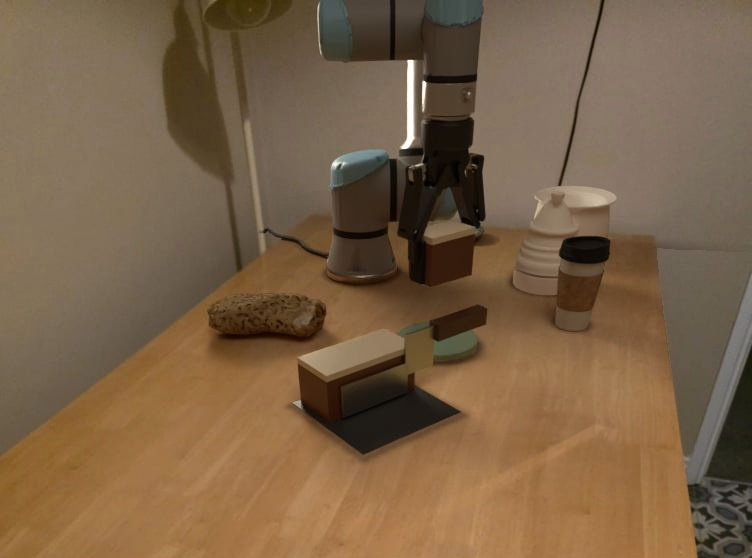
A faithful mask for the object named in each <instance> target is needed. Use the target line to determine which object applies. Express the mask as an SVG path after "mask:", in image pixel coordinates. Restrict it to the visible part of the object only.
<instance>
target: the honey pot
mask: <svg viewBox="0 0 752 558" xmlns="http://www.w3.org/2000/svg"><path fill="white" fill-rule="evenodd" d="M564 197H565V192H562V191H553V192H551V198H552V199H550V200H549V201H548V202H546V203H545V205H544V206H543V207H542V208H541V210H540V211H539V213H538V214H537V216H536V217H535V216H534V217H535V219H534V218H533V219H532V220H530V221H529V222H528V223H527V228H528V231H527V233H526V235H525V236H524V238H523V239H522V244H520V247H519V251H518V252H517V254H516V256H515V260H514V261H515V262H514V266H513V275H512V285H513V286H514V288H515V289H518V290H519V291H521V292H524V293H527V294H532V295H536V296H538V295H539V296H557V284H558V269H559V266H560V259H561V258H560V256H559V249H560V248H561V245H562V242H563V240H564V239H566V238H569V237H576V235H575V233H577V232H578V231H579V229H580V226H579V224H578V223H577V222H575V221H573V220H572V217H571V214H570V211H569V209H568V207H567V205H566V203H565V202H564V201H563V199H564Z"/></svg>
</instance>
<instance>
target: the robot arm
mask: <svg viewBox="0 0 752 558" xmlns="http://www.w3.org/2000/svg"><path fill="white" fill-rule="evenodd" d="M483 3H484V0H319V2H318V5H317V32H318V45H319V46H318V47H319V53H320V56H321V58H322V59H323V60H325V61H327V62H341V63H344V64H348V63H357V62H358V63H359V62H383V61H384V62H385V61H407V64H406V138H405V139H404V141H403V143H402V144H401V145H400V146H399V147H398V157H397V158H390V155H389V152H388V151H387V150H386V149H382V148H379V149H376V148H375V149H374V148H371V149H364V150H357V151H354V152H349V153H346V154H343V155H341V156H339V157H337V158H336V159H334V161H333V162H332V163H331V166H330V183H329V189H330V190H331V213H332V214H331V215H332V216H331V217H332V239H331V244H330V247H329V252H326V251H321V250H317V249H314V248H313V247H310V246H308V245H306V244H305V242H304V241H303V240H302V239H300V238H298V237H295V236H292V235H285V234H280V233H277V232H275V231H274V230H273V229H272V228H270V227H265V228H264V229H263V230H262V234H266V233H267V232H269V234H271V236H273V237H276V238H279V239H283V240H289V241H294V242H297V243H299V244H300V246H301V247H302V248H303V249H305V250H307V251H309V252H311V253H313V254H316V255H319V256H323V257H327V260H326V263H325V266H326V267H325V269H326V275H327V276H328V277H329V278H330V279H332V280H334V281H336V282H339V283H344V284H352V285H367V284H375V283H380V282H384V281H387V280H390V279H391V278H393V277H394V276H395V275H396V273H397V259H396V257H395V253H394V251H393V247H392V243H391V241H390V240H391V239H390V237H389V223H398V226H397V230H396V231H397V232H396V235H397V237H398V238H400V239H404V240H407V260H408V263H409V262H411V267H410V279H409V281H411V282H413V283H415V284H418V285H420V286H424V285H423V284H425V263H426V241H423V240H422V238H423V235H424V233H425V230H426V227H427V226H428V225H429V222H430V223H435V222H444V221H449V220H453V218H454V217H455V216H456V214H458V217H459V220H460V222H461V223H464V224H467V225H470V226H473V227H476V229H478V228H479V227H480V226H481V225H482V223H481V222H485V221H486V217H487V216H486V205H485V204H486V201H485V190H484V188H485V187H484V176H483V175H484V174H483V173H484V172H483V171H484V165H485V156H484V155H483V154H479V153H474V152H470V150H469V149H470V148H471V147H472V146H473V143H474V131H475V120H474V118H473V117H471V116H472V115H473V114H475V112H476V100H477V87H478V85H477V84H478V68H479V57H480V45H481V43H480V42H481V34H482V33H481V32H482V22H483V20H482V19H483V15H484V5H483ZM415 231H416V233H415Z"/></svg>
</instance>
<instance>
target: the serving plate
mask: <svg viewBox="0 0 752 558" xmlns="http://www.w3.org/2000/svg"><path fill="white" fill-rule="evenodd" d="M428 326H429V321H422V322H417V323H416V322H415V323H412V324H410V325H407V326H405V327H403V328H402V329H400V330H399V331H398V332H397V333H396V334H397V335H399V336H400V337H402V338H404V335H405V334H407V333H410V332H413V331H416V330H419V329H422V328H425V327H428ZM478 341H479V338H478V336H477V334H476V332H475V331H473V329H472V330H469V331H467V332H464V333H461V334H458V335H456V336H453V337H450V338H447V339H445V340H442V341H439V342H437V341H435V340H434V350H433V362H435V361H436V362H437V361H439V362H443V361H453V360H458V359H461V358H464V357H466V356H473V355H474V354H475V353H476V352H477V348H478Z"/></svg>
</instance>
